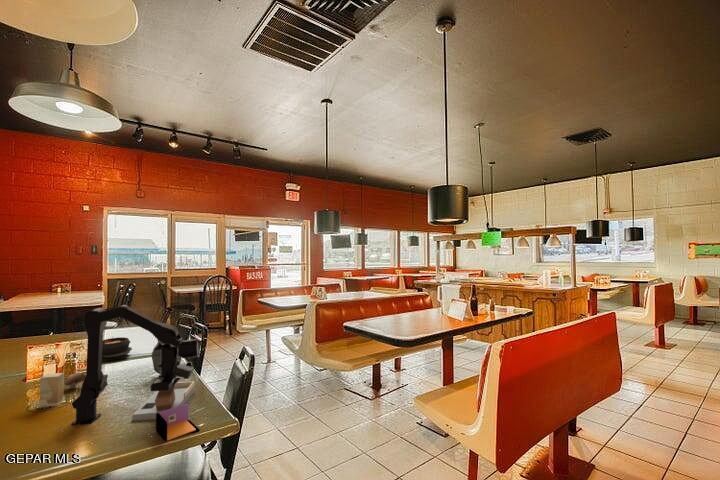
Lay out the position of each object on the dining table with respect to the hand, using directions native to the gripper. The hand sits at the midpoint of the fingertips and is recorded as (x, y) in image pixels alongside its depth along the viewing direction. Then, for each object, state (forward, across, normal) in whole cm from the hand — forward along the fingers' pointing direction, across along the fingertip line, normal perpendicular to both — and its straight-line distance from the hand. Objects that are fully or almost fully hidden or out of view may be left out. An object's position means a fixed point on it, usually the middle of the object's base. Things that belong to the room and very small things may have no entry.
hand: (169, 400), depth 133 cm
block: (0, -4, 0) cm, 4 cm away
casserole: (+4, +81, +60) cm, 101 cm away
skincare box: (+4, +12, +48) cm, 50 cm away
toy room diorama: (+4, -18, -9) cm, 21 cm away
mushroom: (+4, +30, +50) cm, 59 cm away
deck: (+4, +4, +3) cm, 6 cm away
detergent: (+4, +42, +16) cm, 45 cm away
